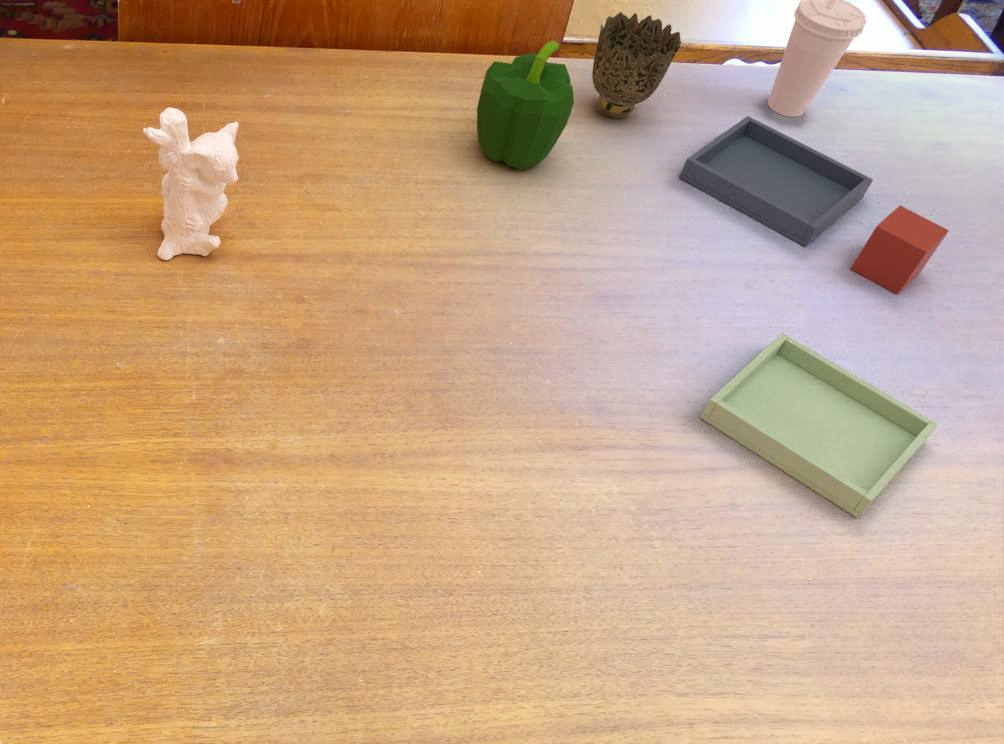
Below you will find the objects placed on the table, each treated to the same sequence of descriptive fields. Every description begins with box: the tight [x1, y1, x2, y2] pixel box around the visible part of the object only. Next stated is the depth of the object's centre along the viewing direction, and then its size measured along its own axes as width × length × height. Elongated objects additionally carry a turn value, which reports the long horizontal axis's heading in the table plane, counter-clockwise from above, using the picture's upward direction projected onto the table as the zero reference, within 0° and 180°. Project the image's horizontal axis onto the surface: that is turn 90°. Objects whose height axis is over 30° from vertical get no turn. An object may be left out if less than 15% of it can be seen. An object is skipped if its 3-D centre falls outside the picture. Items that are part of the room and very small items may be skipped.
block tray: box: [678, 115, 874, 248], centre depth 103 cm, size 13×11×2 cm
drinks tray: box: [699, 332, 939, 519], centre depth 84 cm, size 13×11×2 cm
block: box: [850, 205, 950, 295], centre depth 95 cm, size 4×4×4 cm
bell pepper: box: [476, 40, 575, 170], centre depth 100 cm, size 8×8×10 cm
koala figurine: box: [142, 107, 240, 261], centre depth 88 cm, size 8×7×12 cm
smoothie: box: [767, 0, 867, 118], centre depth 106 cm, size 6×6×14 cm
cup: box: [591, 11, 682, 119], centre depth 106 cm, size 8×7×8 cm
